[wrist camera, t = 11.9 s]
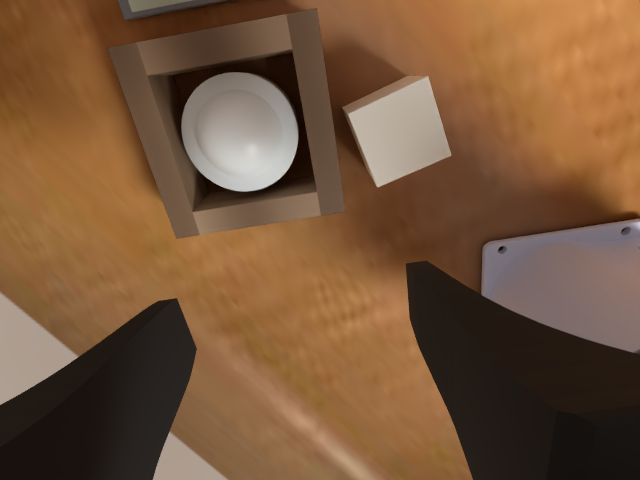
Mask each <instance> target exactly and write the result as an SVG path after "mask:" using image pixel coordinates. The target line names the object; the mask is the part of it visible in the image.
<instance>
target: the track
mask: <svg viewBox="0 0 640 480" xmlns="http://www.w3.org/2000/svg"><path fill="white" fill-rule="evenodd" d="M228 1H233V0H118V2H119V5H120V8H121V11H122V14H123V17H124V19H125V20H128V21H129V20H134V19H139V18H144V17H150V16H155V15H160V14H165V13H170V12H176V11H181V10H186V9H191V8H196V7H202V6H207V5H212V4H217V3H222V2H228Z"/></svg>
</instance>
